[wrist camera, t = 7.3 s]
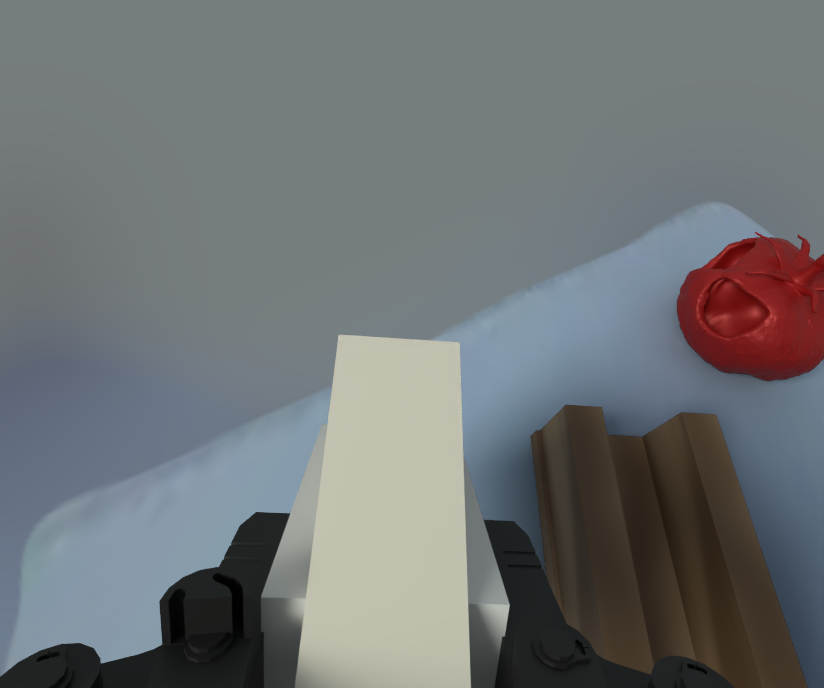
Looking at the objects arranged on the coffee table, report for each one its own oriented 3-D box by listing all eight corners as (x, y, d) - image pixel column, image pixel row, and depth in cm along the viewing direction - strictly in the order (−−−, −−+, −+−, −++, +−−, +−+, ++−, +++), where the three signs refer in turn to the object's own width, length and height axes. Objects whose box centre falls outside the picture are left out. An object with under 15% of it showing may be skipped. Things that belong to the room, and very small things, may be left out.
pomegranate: (783, 308, 37) (903, 223, 29) (793, 416, 32) (943, 348, 24) (663, 265, 38) (748, 171, 30) (654, 363, 32) (755, 281, 25)
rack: (667, 444, 29) (720, 414, 25) (792, 908, 19) (916, 991, 15) (530, 435, 29) (561, 404, 25) (584, 912, 19) (652, 1001, 14)
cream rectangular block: (413, 478, 19) (459, 342, 10) (406, 813, 14) (488, 1226, 4) (352, 475, 19) (338, 334, 9) (322, 812, 14) (226, 1239, 4)
